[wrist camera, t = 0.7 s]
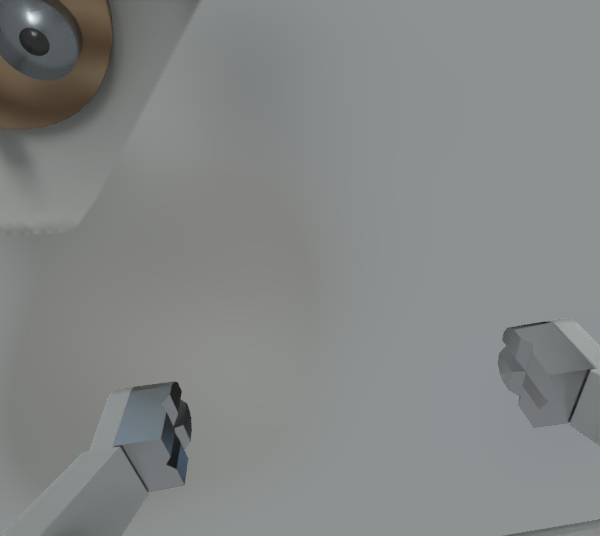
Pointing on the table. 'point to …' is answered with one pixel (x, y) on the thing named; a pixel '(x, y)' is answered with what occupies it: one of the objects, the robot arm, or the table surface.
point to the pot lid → (39, 38)
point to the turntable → (68, 90)
